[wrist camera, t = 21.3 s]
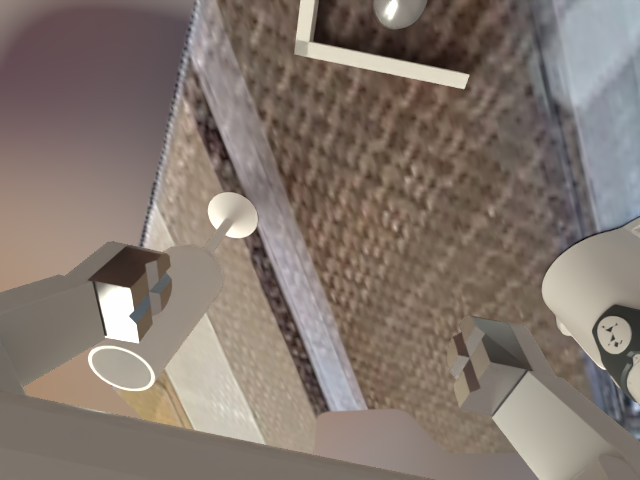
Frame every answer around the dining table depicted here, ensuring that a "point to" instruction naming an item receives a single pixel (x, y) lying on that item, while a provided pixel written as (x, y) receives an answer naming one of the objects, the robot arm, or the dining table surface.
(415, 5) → the steel part
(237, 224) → the champagne flute
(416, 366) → the dining table surface
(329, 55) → the frame
